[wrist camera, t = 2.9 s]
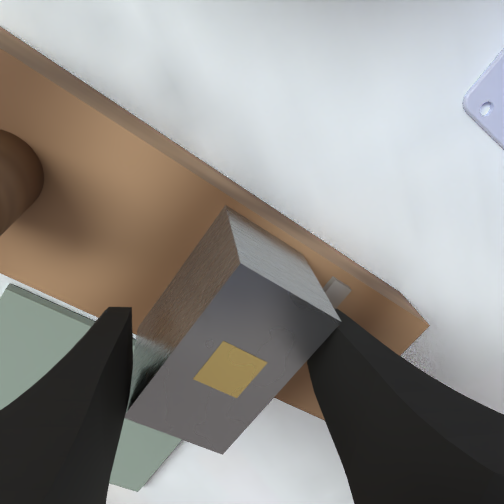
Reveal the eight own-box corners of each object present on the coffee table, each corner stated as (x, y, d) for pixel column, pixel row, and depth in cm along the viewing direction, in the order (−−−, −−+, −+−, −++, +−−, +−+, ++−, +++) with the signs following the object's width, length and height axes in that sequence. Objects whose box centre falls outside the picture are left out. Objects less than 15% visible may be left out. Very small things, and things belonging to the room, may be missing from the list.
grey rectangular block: (302, 253, 14) (341, 322, 11) (214, 362, 16) (222, 455, 12) (225, 204, 13) (240, 263, 10) (138, 327, 15) (122, 417, 11)
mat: (226, 380, 19) (226, 386, 19) (138, 484, 22) (138, 492, 21) (9, 283, 16) (5, 288, 15) (-69, 420, 18) (-74, 428, 18)
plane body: (400, 292, 19) (476, 379, 14) (316, 383, 20) (358, 488, 15) (-13, 18, 12) (-145, -3, 7) (-87, 184, 14) (-235, 258, 9)
